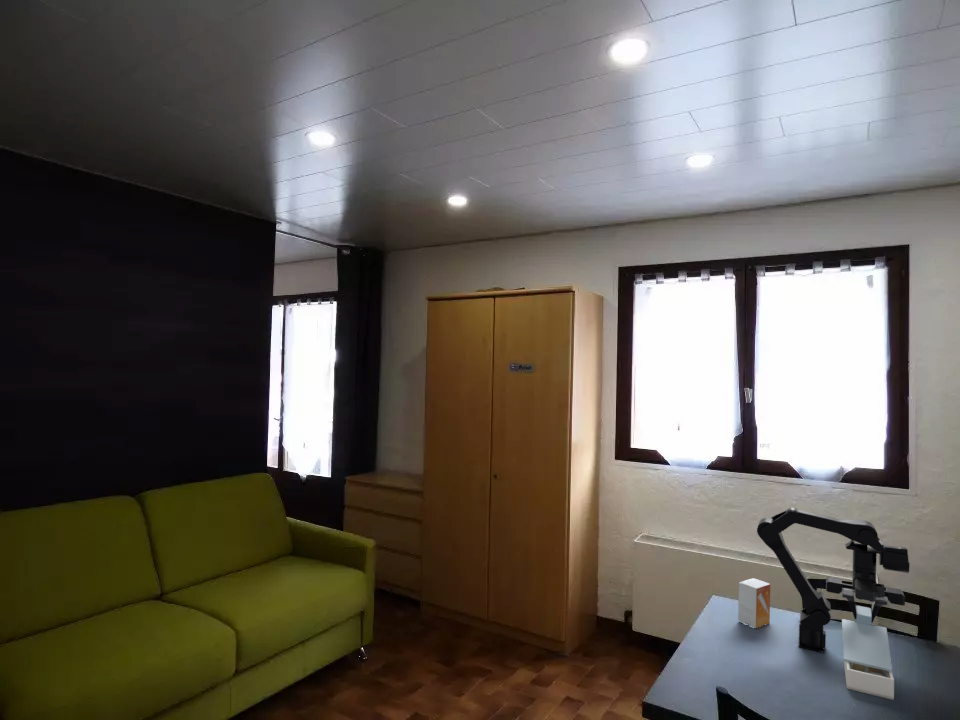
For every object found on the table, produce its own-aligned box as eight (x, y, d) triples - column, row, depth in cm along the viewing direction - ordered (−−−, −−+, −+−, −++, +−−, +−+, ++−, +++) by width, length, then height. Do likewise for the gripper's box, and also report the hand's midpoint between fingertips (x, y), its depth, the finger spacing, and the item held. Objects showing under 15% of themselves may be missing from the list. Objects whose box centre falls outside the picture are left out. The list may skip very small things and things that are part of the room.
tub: (846, 688, 152) (847, 669, 152) (843, 661, 166) (843, 643, 166) (893, 700, 147) (894, 680, 147) (886, 671, 161) (886, 653, 161)
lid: (843, 660, 157) (844, 649, 156) (841, 612, 173) (841, 602, 173) (892, 671, 151) (892, 660, 150) (885, 621, 168) (885, 610, 167)
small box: (755, 629, 185) (756, 588, 185) (737, 622, 190) (738, 582, 191) (770, 624, 190) (771, 583, 190) (752, 616, 195) (752, 577, 195)
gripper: (827, 568, 167) (826, 623, 167) (907, 581, 157) (906, 640, 157) (826, 557, 176) (825, 609, 176) (902, 569, 167) (901, 624, 167)
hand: (863, 620), depth 169 cm, fingers closed on lid, 3 cm apart
